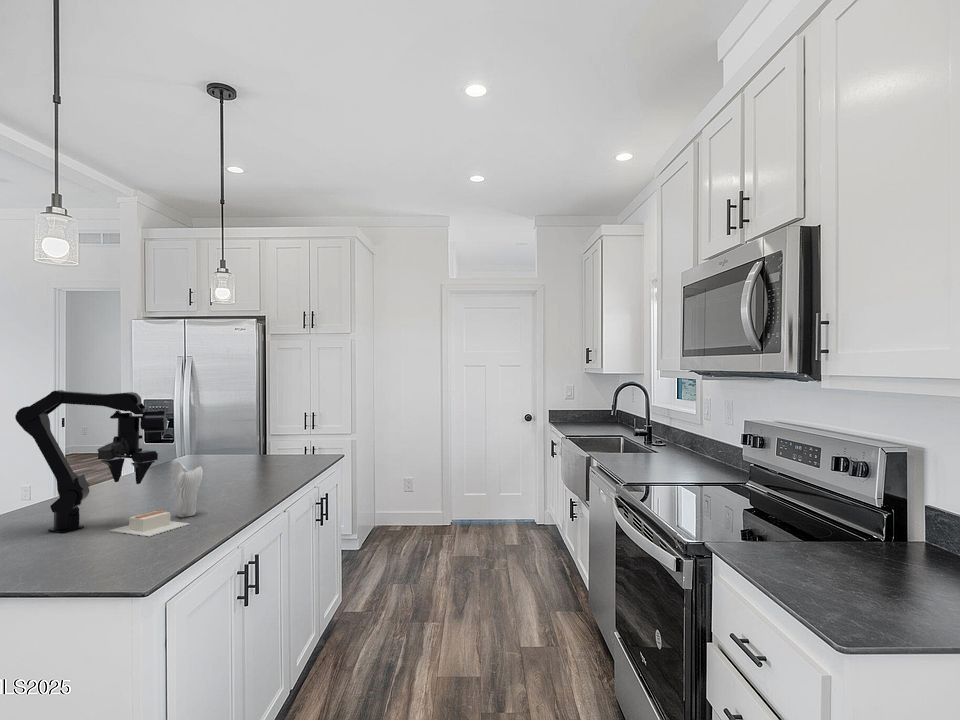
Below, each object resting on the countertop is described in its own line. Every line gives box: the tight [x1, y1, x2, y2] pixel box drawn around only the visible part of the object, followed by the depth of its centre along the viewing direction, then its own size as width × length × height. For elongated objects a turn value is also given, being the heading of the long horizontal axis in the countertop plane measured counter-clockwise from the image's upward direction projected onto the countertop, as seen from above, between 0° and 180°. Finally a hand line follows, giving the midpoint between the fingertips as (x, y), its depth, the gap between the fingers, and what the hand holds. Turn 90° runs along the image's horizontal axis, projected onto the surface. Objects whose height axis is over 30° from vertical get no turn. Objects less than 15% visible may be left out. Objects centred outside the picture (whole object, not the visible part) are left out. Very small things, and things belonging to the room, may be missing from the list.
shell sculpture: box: [171, 460, 204, 518], centre depth 185 cm, size 8×8×18 cm
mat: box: [109, 520, 190, 538], centre depth 170 cm, size 16×14×1 cm
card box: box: [128, 509, 171, 532], centre depth 170 cm, size 9×6×4 cm, turn 158°
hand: (127, 482), depth 174 cm, fingers open, 9 cm apart
